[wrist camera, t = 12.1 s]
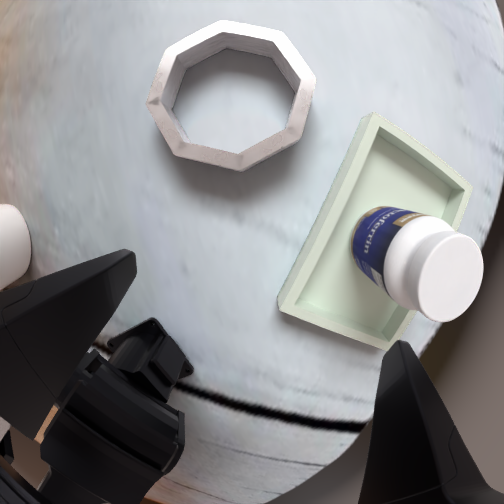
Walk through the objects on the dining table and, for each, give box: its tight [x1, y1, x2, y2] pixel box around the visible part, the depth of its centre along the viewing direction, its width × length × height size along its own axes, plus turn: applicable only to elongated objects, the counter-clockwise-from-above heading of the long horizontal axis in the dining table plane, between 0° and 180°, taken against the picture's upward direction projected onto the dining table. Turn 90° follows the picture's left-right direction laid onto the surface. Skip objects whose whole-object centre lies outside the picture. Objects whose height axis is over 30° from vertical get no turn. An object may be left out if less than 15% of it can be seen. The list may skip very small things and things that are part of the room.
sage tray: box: [277, 112, 473, 351], centre depth 20 cm, size 16×11×2 cm
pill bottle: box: [350, 206, 483, 322], centre depth 16 cm, size 6×6×10 cm
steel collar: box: [146, 21, 317, 172], centre depth 18 cm, size 11×11×3 cm
